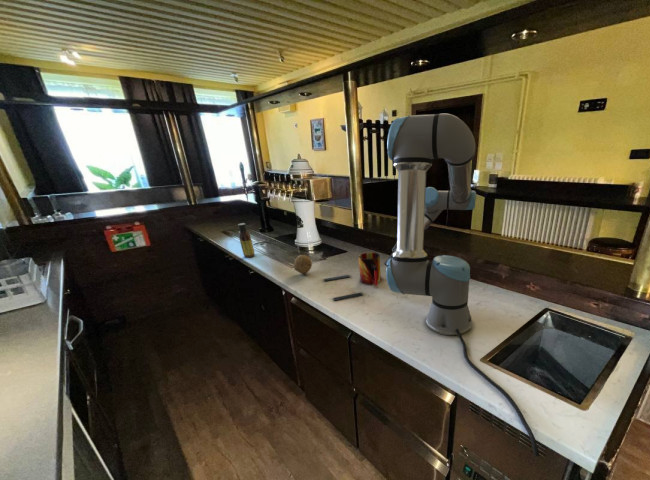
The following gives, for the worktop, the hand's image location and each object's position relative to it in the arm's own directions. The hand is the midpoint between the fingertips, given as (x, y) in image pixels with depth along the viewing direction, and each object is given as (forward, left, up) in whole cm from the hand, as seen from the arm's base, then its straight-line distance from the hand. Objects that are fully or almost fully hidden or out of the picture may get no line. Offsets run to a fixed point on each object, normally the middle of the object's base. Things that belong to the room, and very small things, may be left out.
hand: (386, 265), depth 139 cm
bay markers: (0, +22, -7) cm, 23 cm away
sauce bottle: (+69, +63, -7) cm, 94 cm away
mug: (0, +7, -7) cm, 10 cm away
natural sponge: (+24, +36, -7) cm, 44 cm away
